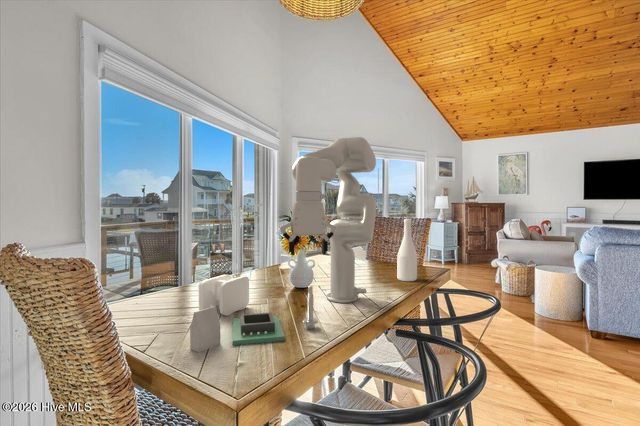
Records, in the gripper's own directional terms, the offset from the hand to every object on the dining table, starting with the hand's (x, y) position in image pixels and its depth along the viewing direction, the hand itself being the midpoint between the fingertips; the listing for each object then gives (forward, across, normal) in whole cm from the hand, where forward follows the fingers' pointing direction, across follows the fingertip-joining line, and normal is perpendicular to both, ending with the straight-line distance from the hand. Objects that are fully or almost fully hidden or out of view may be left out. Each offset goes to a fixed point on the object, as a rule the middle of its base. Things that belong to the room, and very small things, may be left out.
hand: (308, 254), depth 107 cm
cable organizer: (+23, +26, -22) cm, 41 cm away
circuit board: (+23, +15, 0) cm, 27 cm away
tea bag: (+23, +29, +8) cm, 38 cm away
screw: (+23, -1, 0) cm, 23 cm away
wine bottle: (+22, -60, -54) cm, 83 cm away
